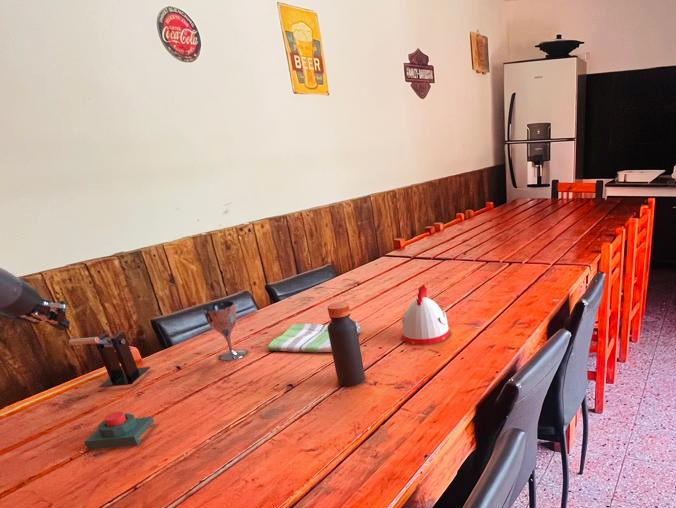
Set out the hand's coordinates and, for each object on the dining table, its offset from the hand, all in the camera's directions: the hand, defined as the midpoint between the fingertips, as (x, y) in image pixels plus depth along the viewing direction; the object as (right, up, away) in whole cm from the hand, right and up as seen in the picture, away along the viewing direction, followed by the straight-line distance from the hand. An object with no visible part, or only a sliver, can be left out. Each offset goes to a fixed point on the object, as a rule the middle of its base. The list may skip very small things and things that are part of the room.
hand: (65, 326), depth 116 cm
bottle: (+62, -13, +13) cm, 64 cm away
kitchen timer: (+78, 0, +38) cm, 87 cm away
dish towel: (+45, -2, +38) cm, 59 cm away
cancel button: (+17, -21, -7) cm, 28 cm away
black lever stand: (0, -13, +20) cm, 24 cm away
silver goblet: (+22, -6, +32) cm, 40 cm away
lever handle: (0, -4, +11) cm, 12 cm away
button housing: (+17, -24, -5) cm, 30 cm away
